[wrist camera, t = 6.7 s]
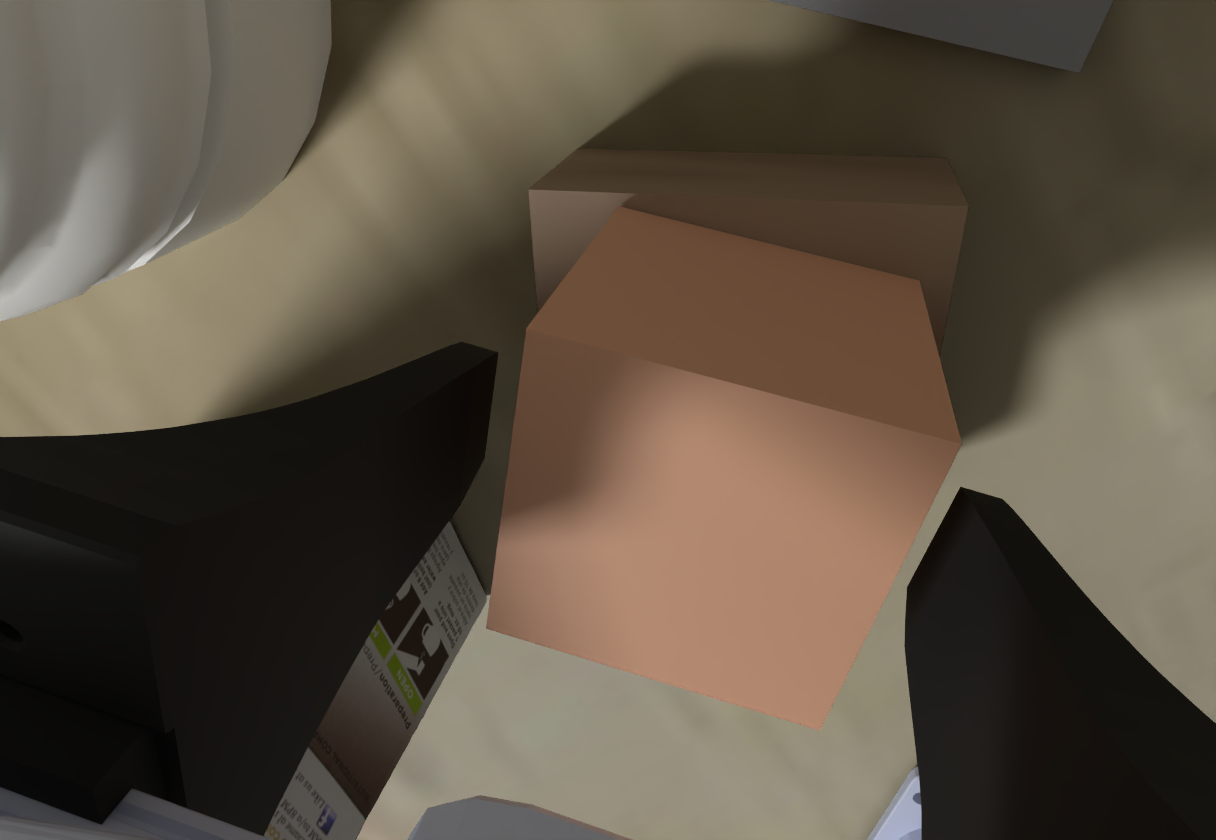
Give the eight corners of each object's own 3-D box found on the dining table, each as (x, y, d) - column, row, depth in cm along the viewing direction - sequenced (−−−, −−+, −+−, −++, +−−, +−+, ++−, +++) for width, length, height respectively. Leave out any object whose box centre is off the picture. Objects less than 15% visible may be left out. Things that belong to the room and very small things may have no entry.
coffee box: (398, 408, 21) (-390, 1256, 8) (494, 600, 24) (37, 1480, 10) (144, 463, 24) (-719, 1122, 11) (253, 626, 27) (-333, 1318, 14)
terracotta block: (822, 519, 16) (820, 731, 12) (573, 449, 16) (485, 628, 12) (919, 281, 13) (962, 444, 9) (618, 205, 14) (526, 327, 10)
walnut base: (890, 468, 19) (899, 565, 16) (594, 436, 20) (552, 520, 18) (944, 153, 15) (968, 206, 12) (582, 145, 17) (528, 189, 14)
